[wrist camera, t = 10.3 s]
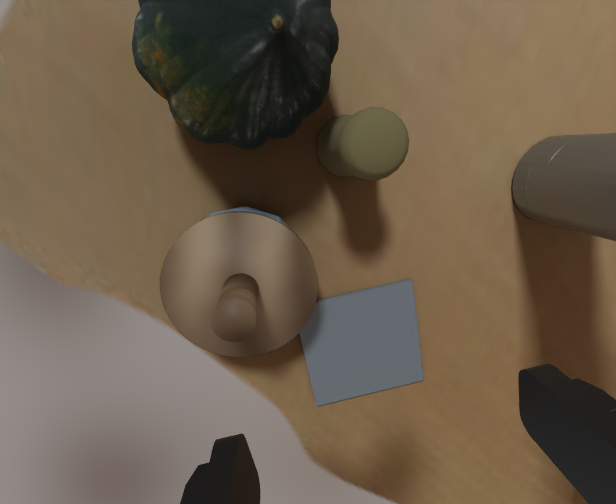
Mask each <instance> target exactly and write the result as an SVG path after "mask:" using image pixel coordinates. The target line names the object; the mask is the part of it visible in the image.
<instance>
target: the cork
mask: <svg viewBox="0 0 616 504" xmlns="http://www.w3.org/2000/svg"><path fill="white" fill-rule="evenodd" d="M408 145H409V138H408V132H407V129H406V127H405V125H404V123H403V121H402V120H401V119H400V118H399V117H398V116H397V115H396V114H395V113H393V112H391V111H389V110H387V109H384V108H377V107H370V108H367V109H364V110H361V111H359V112H357V113H356V114H355V115H341V116H338V117H335V118H333V119H332V120H330V121H329V122H328V123H326V125H325V126H324V127H323V129H322V130H321V132H320V135H319V138H318V141H317V152H318V156H319V159H320V161H321V163H322V164H323V166H324V167H325V168H326V169H327V170H328V171H329V172H331V173H332V174H334V175H337V176H340V177H351V176H355V177H358V178H361V179H364V180H379V179H383V178H386V177H388V176H389V175H391V174H392V173H393V172H395V171H396V170H397V169H398V168H399V167H400V166H401V164H402V163H403V162H404V159H405V157H406V155H407V152H408Z"/></svg>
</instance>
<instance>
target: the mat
mask: <svg viewBox="0 0 616 504" xmlns="http://www.w3.org/2000/svg"><path fill="white" fill-rule="evenodd" d="M299 334H300V338H301V342H302V346H303V351H304V355H305V359H306V363H307V367H308V371H309V376H310V380H311V384H312V388H313V392H314V396H315V401H316V405H317V406H320V405H324V404H328V403H332V402H336V401H340V400H344V399H349V398H353V397H357V396H361V395H365V394H369V393H373V392H377V391H381V390H386V389H390V388H394V387H398V386H402V385H406V384H410V383H414V382H418V381H423V380H424V378H423V369H422V361H421V352H420V343H419V334H418V325H417V316H416V307H415V298H414V289H413V281H412V280H411V279H408V280H404V281H400V282H395V283H391V284H387V285H382V286H378V287H374V288H369V289H365V290H361V291H356V292H352V293H348V294H343V295H339V296H335V297H330V298H326V299H322V300H317V301H316V304H315V307H314V310H313V312H312V315H311V317H310V319H309V320H308V322H307V324H306V325H305V326H304V328H303V329H302V330H301V331H300V332H299Z"/></svg>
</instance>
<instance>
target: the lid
mask: <svg viewBox="0 0 616 504" xmlns="http://www.w3.org/2000/svg"><path fill="white" fill-rule="evenodd" d="M160 293H161V299H162V303H163V306H164V309H165V311H166V313H167V315H168V317H169V319H170V320H171V322H172V323H173V325H174V326H175V327H176V328H177V330H178V331H179V332H180V333H181V334H182V335H183V336H184V337H185V338H186V339H188V340H189V341H191V342H192V343H193V344H195V345H197V346H199V347H200V348H202V349H204V350H207V351H209V352H212V353H215V354H219V355H223V356H229V357H251V356H257V355H262V354H265V353H268V352H271V351H273V350H276V349H278V348H280V347H281V346H283V345H285V344H286V343H288V342H289V341H290V340H292V339H293V338H294V337H295V336H296V335H297V334H298V333H299V332H300V331H301V330H302V329H303V328H304V326H305V325H306V324H307V322H308V320H309V319H310V317H311V315H312V312H313V310H314V307H315V304H316V301H317V294H318V278H317V272H316V268H315V265H314V262H313V259H312V257H311V255H310V252H309V251H308V249H307V247H306V246H305V244H304V243H303V241H302V240H301V239H300V238H299V237H298V235H296V234H295V233H294V232H293V231H292V230H291V229H290V228H288V227H287V226H286V225H284V224H283V223H281V222H279V221H277V220H276V219H274V218H271V217H269V216H266V215H263V214H259V213H255V212H248V211H229V212H223V213H219V214H215V215H212V216H209V217H207V218H204V219H202V220H200V221H199V222H197V223H195V224H194V225H192V226H191V227H190V228H189V229H187V230H186V231H185V232H184V233H183V234H182V235H181V236H180V237H179V238H178V239H177V240H176V241H175V242H174V244H173V245H172V247H171V248H170V250H169V251H168V253H167V255H166V257H165V259H164V262H163V266H162V269H161V275H160Z"/></svg>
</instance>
